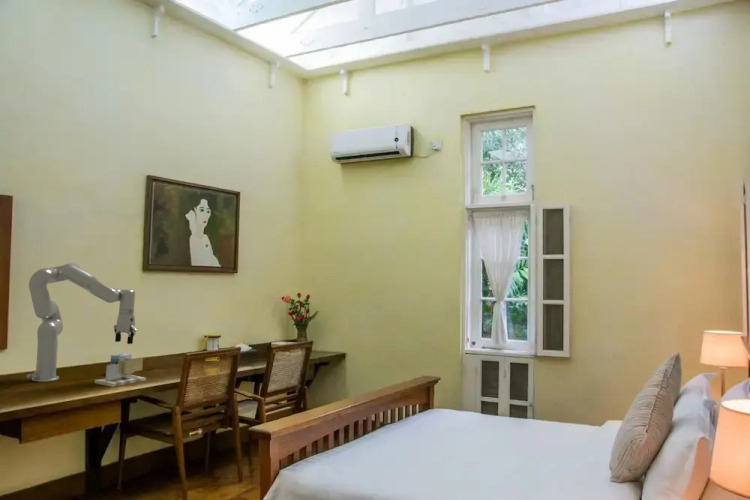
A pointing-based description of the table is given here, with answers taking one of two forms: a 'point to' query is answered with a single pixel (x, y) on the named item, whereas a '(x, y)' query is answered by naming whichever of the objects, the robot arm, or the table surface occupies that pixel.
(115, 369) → the steel hinge leaf
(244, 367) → the table surface
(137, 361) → the tan piece
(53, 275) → the robot arm
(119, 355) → the light bulb box
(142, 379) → the white mounting board
